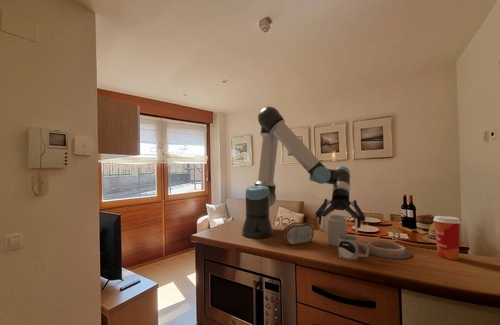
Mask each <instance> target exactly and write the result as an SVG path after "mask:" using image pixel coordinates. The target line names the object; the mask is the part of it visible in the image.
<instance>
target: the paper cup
mask: <svg viewBox="0 0 500 325" xmlns="http://www.w3.org/2000/svg"><path fill="white" fill-rule="evenodd" d="M432 221H433V223H434V230H435V231H434V232H435V241H436V248H437V250H436V251H437V256H438V257H439V258H441V259H446V260H450V259H451V261H458V260H459V256H460V229H461V228H460V227H461V226H460V225H461V223H462V222H461V221H460V218H458V217H454V216H446V215H443V216H442V215H434V218H433V219H432Z"/></svg>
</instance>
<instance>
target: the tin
mask: <svg viewBox="0 0 500 325" xmlns="http://www.w3.org/2000/svg"><path fill="white" fill-rule="evenodd" d="M314 233H315V230H314V227H313V226H312V225H311V224H309V223H307V222H299V223H289V224H288V225H286V226H285V227H284V228H283V230H282V239H283V242H285V243H286V244H288V245H290V246H296V245H303V244H308V243H309V242H311V241H312V240H313V238H314Z"/></svg>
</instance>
